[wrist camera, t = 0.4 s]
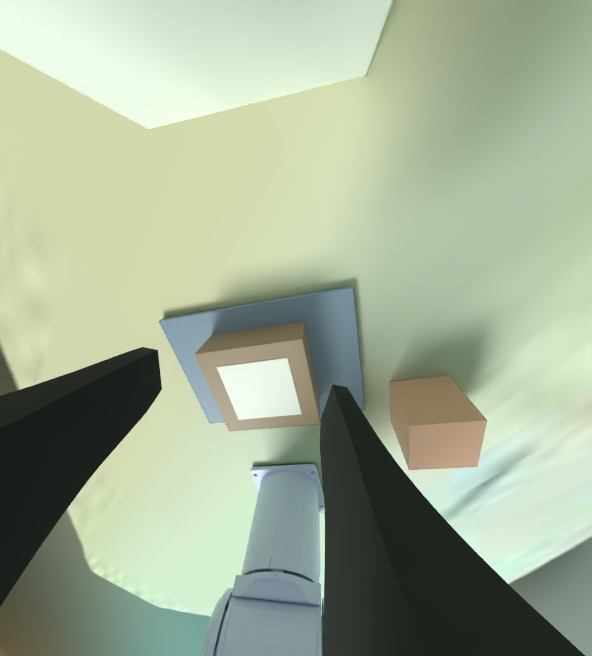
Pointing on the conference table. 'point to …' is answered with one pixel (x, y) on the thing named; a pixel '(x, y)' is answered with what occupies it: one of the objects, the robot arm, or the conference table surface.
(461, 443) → the terracotta cube
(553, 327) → the conference table surface
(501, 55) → the conference table surface
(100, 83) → the gable box
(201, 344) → the plate
